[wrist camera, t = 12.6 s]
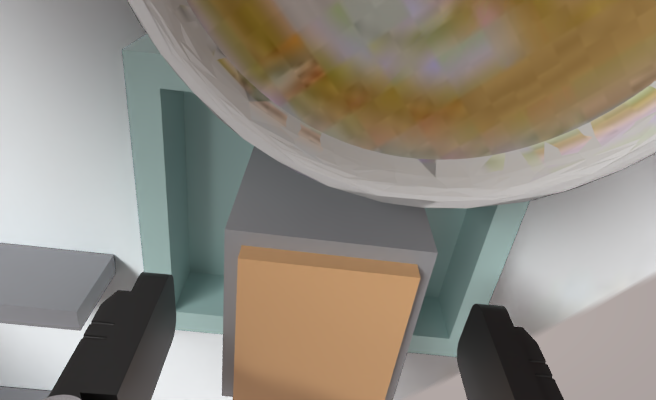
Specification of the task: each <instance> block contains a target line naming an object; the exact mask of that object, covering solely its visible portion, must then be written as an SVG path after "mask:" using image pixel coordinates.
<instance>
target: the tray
mask: <svg viewBox="0 0 656 400" xmlns="http://www.w3.org/2000/svg"><path fill="white" fill-rule="evenodd" d="M122 55H123V65H124V75H125V85H126V95H127V105H128V115H129V125H130V135H131V145H132V155H133V165H134V175H135V185H136V195H137V205H138V215H139V225H140V235H141V245H142V255H143V265H144V272H148V273H159V274H170V275H172V276H173V279H174V291H175V305H176V327H175V330H183V331H193V332H204V333H214V334H223V303H224V240H225V227H226V224H227V221H228V218H229V216H230V213H231V210H232V207H233V204H234V201H235V199H236V196H237V193H238V190H239V187H240V184H241V182H242V179H243V176H244V173H245V170H246V167H247V165H248V162H249V159H250V156H251V153H252V150H253V148H254V146H253V145H252V144H250V143H249V142H247V141H246V140H244V139H243V138H242V137H240V136H239V135H238V134H237V133H236V132H234V131H233V130H232V129H231V128H230V127H228V126H227V125H226V124H225V123H224V122H222V121H221V120H220V119H219V118H218V117H217V116H216V115H215V114H214V113H213V112H212V111H211V110H210V109H209V108H208V107H207V106H206V105H205V104H204V103H203V102H202V101H201V100H200V99H199V98H198V97H197V96H196V95H195V94H194V93H193V91H192V90H191V89H190V88H189V87H188V86H187V85H186V84H185V83H184V81H183V80H182V79H181V78H180V77H179V76H178V75H177V74H176V73H175V71H174V70H173V69H172V67H171V66H170V65H169V64H168V62H167V61H166V60H165V59H164V57H163V56H162V55H161V54H160V52H159V51H158V49H157V48H156V46H155V45H154V43H153V42H152V40H151V39H150V37H149V36H148V34H146V35H144V36H142V37H141V38H139V39H138V40H136V41H135V42H133V43H131V44H130V45H128V46H127V47H125V48H124V49H122ZM529 202H530V201H527V202H519V203H510V204H502V205H493V206H485V207H476V208H425V211H426V215H427V218H428V222H429V225H430V228H431V232H432V235H433V238H434V242H435V245H436V248H437V252H438V254H437V258H436V261H435V264H434V267H433V271H432V274H431V277H430V280H429V284H428V287H427V290H426V293H425V296H424V300H423V303H422V306H421V309H420V313H419V316H418V319H417V322H416V326H415V329H414V332H413V335H412V339H411V342H410V345H409V348H408V352H409V353H419V354H430V355H440V356H450V357H457V347H458V342H459V339H460V336H461V334H462V331H463V329H464V326H465V323H466V321H467V318H468V316H469V313H470V310H471V308H472V306H473V305H474V304H486V305H488V304H489V302H490V299H491V297H492V294H493V292H494V289H495V287H496V284H497V282H498V279H499V277H500V274H501V272H502V269H503V267H504V264H505V262H506V259H507V257H508V254H509V252H510V249H511V247H512V244H513V242H514V239H515V237H516V235H517V232H518V230H519V227H520V225H521V222H522V220H523V217H524V215H525V212H526V210H527V207H528V205H529Z"/></svg>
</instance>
